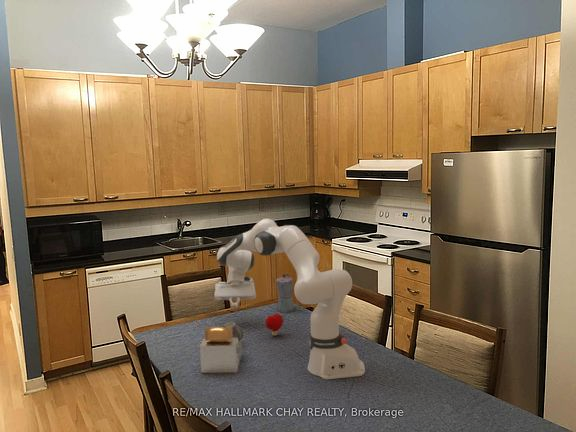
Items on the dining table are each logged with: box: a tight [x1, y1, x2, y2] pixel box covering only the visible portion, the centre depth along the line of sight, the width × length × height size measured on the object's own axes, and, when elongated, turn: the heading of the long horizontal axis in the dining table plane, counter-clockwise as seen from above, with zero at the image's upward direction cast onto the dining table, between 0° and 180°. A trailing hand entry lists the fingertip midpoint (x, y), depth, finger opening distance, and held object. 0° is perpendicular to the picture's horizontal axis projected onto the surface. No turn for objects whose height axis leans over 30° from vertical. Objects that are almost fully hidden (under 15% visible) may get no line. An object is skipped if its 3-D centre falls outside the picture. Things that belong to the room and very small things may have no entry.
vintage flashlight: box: [223, 321, 244, 341], centre depth 218 cm, size 12×8×10 cm
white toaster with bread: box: [199, 326, 243, 374], centre depth 200 cm, size 14×17×17 cm
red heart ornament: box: [265, 313, 284, 337], centre depth 228 cm, size 9×7×10 cm
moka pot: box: [275, 273, 295, 313], centre depth 263 cm, size 10×15×20 cm, turn 171°
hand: (234, 306), depth 236 cm, fingers closed
